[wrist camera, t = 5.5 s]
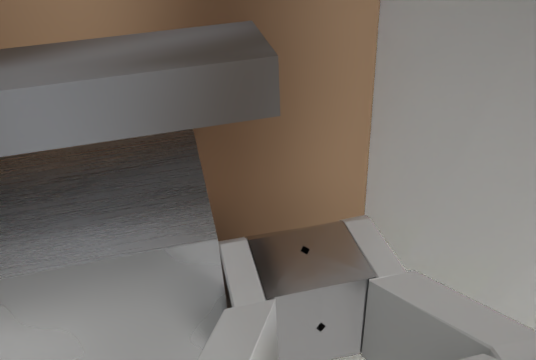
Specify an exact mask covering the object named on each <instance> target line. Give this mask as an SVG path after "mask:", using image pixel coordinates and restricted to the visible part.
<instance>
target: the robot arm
mask: <svg viewBox="0 0 536 360" xmlns="http://www.w3.org/2000/svg"><path fill="white" fill-rule="evenodd" d="M218 244H219V252H220V259H221V266H222V274H223V281H224V289H225V296H226V303H227V309H224V310H223V312H222V314H221V316H220V318H219V320H218V322H217V324H216V325H215V327H214V329H213V331H212V333H211V335H210V337H209V339H208V341H207V342H206V344H205V346H204V348H203V350H202V352H201V354H200V356H199V358H198V359H197V360H331V359H336V358H341V357H346V356H351V355H356V354H361V353H362V355H361V356H362V357H364V358H365V359H366V360H536V331H535V330H533V329H531V328H529V327H527V326H525V325H523V324H521V323H519V322H517V321H515V320H513V319H511V318H509V317H507V316H505V315H503V314H501V313H499V312H497V311H495V310H493V309H491V308H489V307H487V306H485V305H483V304H481V303H479V302H477V301H475V300H473V299H471V298H469V297H467V296H465V295H463V294H461V293H459V292H457V291H455V290H453V289H451V288H449V287H447V286H445V285H443V284H441V283H439V282H437V281H435V280H433V279H431V278H429V277H427V276H425V275H423V274H421V273H419V272H417V271H415V270H414V271H409V272H407V271H406V270H405V268H404V267H403V265H402V264H401V262H400V261H399V260H398V258H397V257H396V255H395V254H394V252H393V251H392V249H391V248H390V246H389V245H388V243H387V242H386V240H385V239H384V238H383V236H382V235H381V233H380V232H379V230H378V229H377V227H376V226H375V224H374V223H373V221H372V220H371V218H370V217H368V216H366V215H362V216H357V217H352V218H347V219H342V220H340V221H335V222H329V223H324V224H319V225H313V226H308V227H303V228H297V229H290V230H284V231H278V232H271V233H265V234H259V235H252V236H246V238H245V237H242V238H236V239H230V240H224V241H218Z"/></svg>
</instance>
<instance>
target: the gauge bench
mask: <svg viewBox="0 0 536 360" xmlns="http://www.w3.org/2000/svg"><path fill="white" fill-rule="evenodd" d="M379 9H380V0H0V157H4V156H11V155H18V154H24V153H31V152H38V151H45V150H52V149H59V148H65V147H72V146H79V145H86V144H93V143H100V142H106V141H113V140H120V139H127V138H134V137H140V136H147V135H154V134H161V133H168V132H175V131H181V130H188V129H193V132H194V136H195V140H196V145H197V149H198V154H199V158H200V163H201V167H202V171H203V176H204V180H205V185H206V189H207V194H208V198H209V202H210V207H211V211H212V216H213V220H214V225H215V229H216V233H217V238H218V241H224V240H230V239H236V238H242V237H245V238H246V236H252V235H259V234H265V233H271V232H278V231H284V230H290V229H297V228H303V227H308V226H313V225H319V224H324V223H329V222H335V221H340V220H342V219H347V218H352V217H357V216H362V215H364V212H365V199H366V185H367V171H368V158H369V144H370V131H371V117H372V104H373V90H374V77H375V63H376V50H377V36H378V22H379Z"/></svg>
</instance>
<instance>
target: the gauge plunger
mask: <svg viewBox="0 0 536 360" xmlns="http://www.w3.org/2000/svg"><path fill="white" fill-rule="evenodd" d="M224 309H227V303H226V296H225V289H224V281H223V274H222V266H221V259H220V252H219V244H218V238H217V233H216V229H215V225H214V220H213V216H212V211H211V207H210V202H209V198H208V194H207V189H206V185H205V180H204V176H203V171H202V167H201V163H200V158H199V154H198V149H197V145H196V140H195V136H194V132H193V129H188V130H181V131H175V132H168V133H161V134H154V135H147V136H140V137H134V138H127V139H120V140H113V141H106V142H100V143H93V144H86V145H79V146H72V147H65V148H59V149H52V150H45V151H38V152H31V153H24V154H18V155H11V156H4V157H0V360H197V359H198V358H199V356H200V354H201V352H202V350H203V348H204V346H205V344H206V342H207V341H208V339H209V337H210V335H211V333H212V331H213V329H214V327H215V325H216V324H217V322H218V320H219V318H220V316H221V314H222V312H223V310H224Z"/></svg>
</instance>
